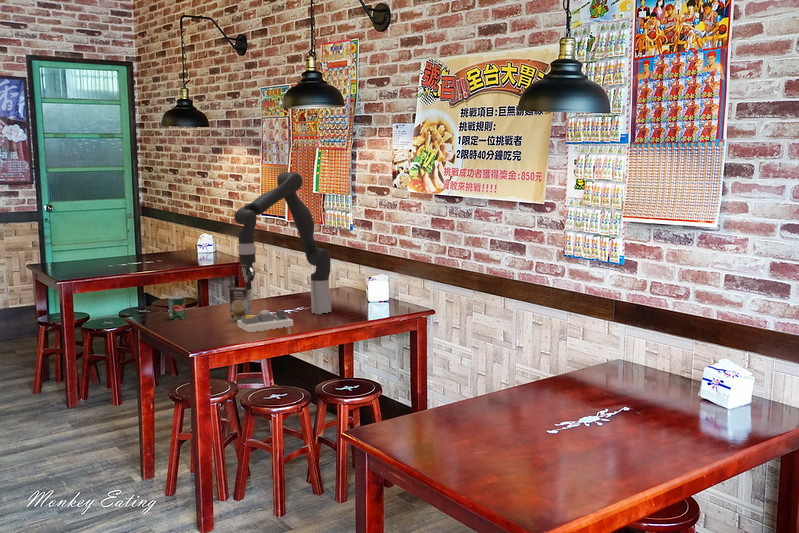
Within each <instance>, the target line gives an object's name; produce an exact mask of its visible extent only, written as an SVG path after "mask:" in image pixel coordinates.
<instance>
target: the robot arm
mask: <svg viewBox="0 0 799 533" xmlns="http://www.w3.org/2000/svg"><path fill="white" fill-rule="evenodd" d="M276 182H277V187H275V188H273V189H270V190H269V191H267V192H264V193H263V194H261V195H259V196H258V197H257V198H255V199H254V200H253V201H252V202H250V203H248V204H246V205H244V206H242V207H240V208H238V209H237V211H236V212H235V213H234V221H235V223H237V224H239V225H241V226H243V227H242V229H241V230H240V231H238V235H237V236H238V262H239V264H242V267H241V268H240V272H241V276H242V279H243V281H244V282H245V288H246V289H247V290H251V291H252V282H254V279H255V276H256V271H255V270H254V267H253V264H255V263H256V260H257V259H256V245H255V229H256V225H257V216H261V215H262V214H263V213H265V212H266V211H267V210H269V209H270V208H271V207H273V206H274V205H275V204H277V203H278V202H280V201H281V200H283V199H284V200H285V203H286V205H287V207H288V210H289V211H290V215H291V217H292V220H293V222H294V225H295V227H296V230H297V232H298V236H299V238H300V240H301V244H302V246H303V250H304V253H305V257H306V260H307V262H308V263H309V264H310V265H311V266H312V267H313V266H314V267H315V271H314V272H313V273H311V274H310V297H311V298H310V299H311V301H310V302H311V313H312V314H313V313H315V314H314V315H323V314H322V313H327V314H329V313H328V312H330V313H332V295H331V293H330V274H331V260H332V258H331V253H330V252H329V250H328V249H325V248H319V247H318V245H317V243H316V240H315V235H314V233H315V226H316V225H315V220H314V218H313V215H312V213H311V211H310V209H309V207H307V206H306V204H305V203H304V202H303V201H302V200H301V198H299V196H298V194H297V191H299V190H300V189H301V188H302V185H303V177H302V175H300V173H298V172H293V171H291V172H290V171H289V172H288V171H287V172H281V173H279V175H278V176H277V180H276Z"/></svg>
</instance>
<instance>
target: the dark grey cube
mask: <svg viewBox="0 0 799 533" xmlns="http://www.w3.org/2000/svg"><path fill="white" fill-rule="evenodd" d="M285 312H286V311H285V310H284V309H276V310H275V313H276V314H275V315H276V316H277V317H279V320H280V319H285V315H286V314H285Z"/></svg>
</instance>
